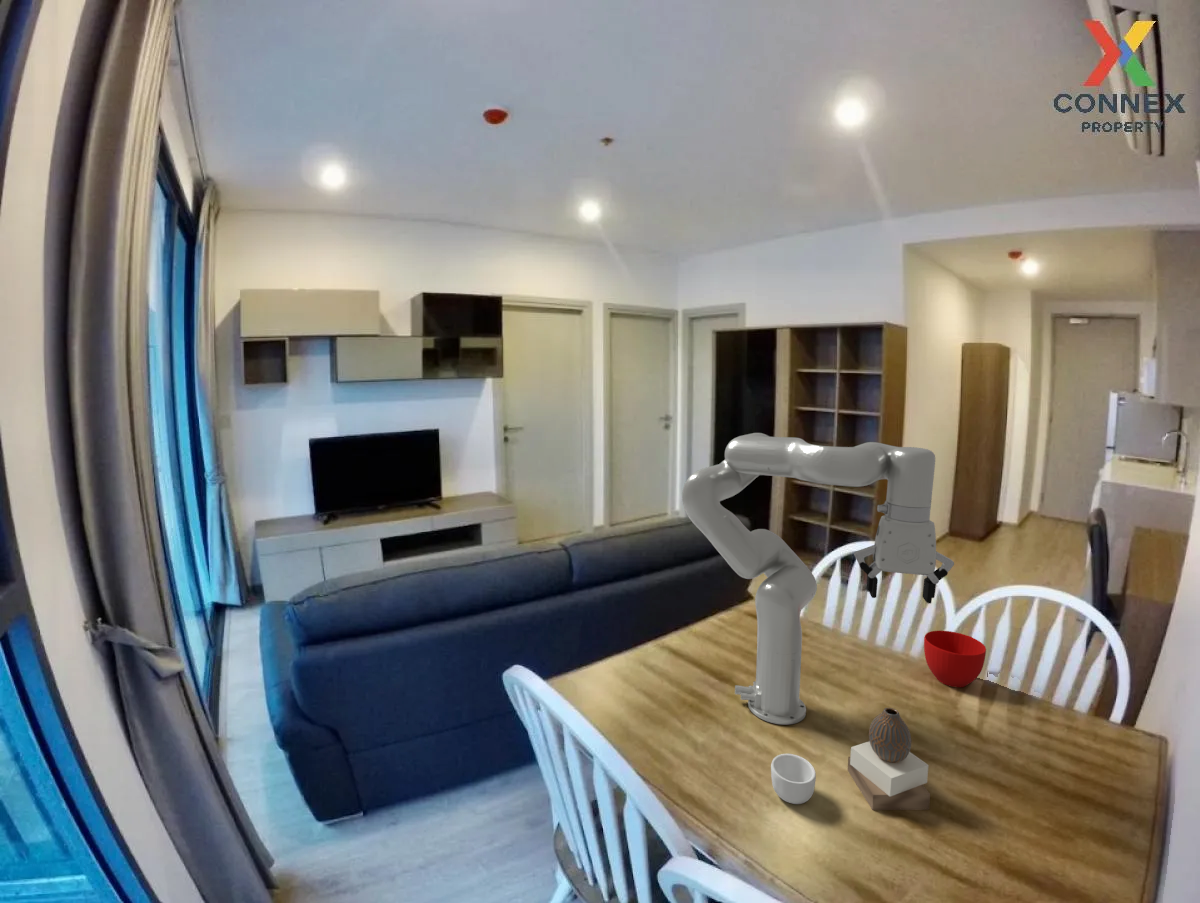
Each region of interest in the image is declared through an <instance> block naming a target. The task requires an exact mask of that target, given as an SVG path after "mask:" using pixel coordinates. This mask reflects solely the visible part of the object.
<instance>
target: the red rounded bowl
mask: <svg viewBox="0 0 1200 903" xmlns="http://www.w3.org/2000/svg"><path fill="white" fill-rule="evenodd" d="M923 650H924V651H923V652H924V657H925V661H926V664H927V665H926V666H928V669H929V670H930V672H931V673H932V674H933V676H935V678H936V680H937V681H938V682H940V683H941V684H943V685H945V686H949V687H953V688H964V687H967V685H969V684H971V683H972V682H974V681H975V680H976V679H977V678H978V677H979V676H980V674H981V672H982V670H983V668H984V665H985V661H986V660H985V659H986V654H987V648H986V646H985V644H983V642H981V641H980V640H979V639H976V638H974V637H972V636H971V635H967V634H965V633H964V634H963V633H960V632H956V631H950V630H932V631H928V632H926V633H925V635H924V639H923Z"/></svg>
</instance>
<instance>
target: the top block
mask: <svg viewBox="0 0 1200 903" xmlns="http://www.w3.org/2000/svg"><path fill="white" fill-rule="evenodd" d="M849 757H850V765H852V766H853V767H854V768H855V769H857V770H858V771H859V772H860V773H862V774H863V775H864V776H865V777H866V778H868V779H869V780H870V781H871V782H873V783H874V784H875V785H876V786H877V787H879V788H880V789H881V790H882V791H884V792H885V793H886V794H887V795H889V796H893V795H896V794H898V793H901V792H904V791H906V790H909V789H912V788H914V787H917V786H920V785H922V784H923V785H925V784H927V783H928V777H929V776H928V773H929V764H928V763H926V762H925V761H923V759H921V758H919V757H918V756H916V755H915V754H914V753H913V752H911V751H910V752H909V754H908V756H907V757H906V758H905V759H904V760H902V761H900V762H897V763H891V762H887V761H884V760H882V759H881V758H880V757H878V756H877V755H876V753H875V752H874V751H873V749H872V747H871V745H870V741H869V740H868V741H866V742H863V743H860V744H857V745H853V746H851V748H850V756H849Z"/></svg>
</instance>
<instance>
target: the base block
mask: <svg viewBox="0 0 1200 903" xmlns="http://www.w3.org/2000/svg"><path fill="white" fill-rule="evenodd" d="M850 757H851V756H848V760H847V773H849V775H850V776H851V779H852V780H853V782H854V783H855V784H856V786H857V788H858V790H859V791H860V792H861V794H862V796H863V798H864V799H865V801H866V803H867V804H868V805H869V807H870V808H871V810H872V811H894V810H895V811H898V810H899V811H900V810H901V811H903V810H904V811H906V810H908V811H909V810H910V811H911V810H914V811H915V810H916V811H917V810H922V811H923V810H930V801H931V794H930V791H928V789H927V788H926V787H925V786H924V784H922V785H920V786H917V787H914V788H912V789H909V790H906V791H904V792H901V793H898V794H896V795H893V796H889V795H887V794H886V793H885V792H884V791H882V790H881V789H880V788H879V787H877V786H876V785H875V784H874V783H873V782H871V781H870V780H869V779H868V778H866V777H865V776H864V775H863V774H862V773H860V772H859V771H858V770H857V769H855V768H854V767H853V766H852V765H850Z"/></svg>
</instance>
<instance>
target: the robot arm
mask: <svg viewBox="0 0 1200 903" xmlns="http://www.w3.org/2000/svg"><path fill="white" fill-rule="evenodd" d="M935 468H936V454H935V453H934V452H933V451H932V450H930V449H929V448H923V447H922V448H921V447H915V446H913V447H912V446H895V445H890V444H886V443H881V442H875V441H869V442H868V441H867V442H864V443H861V444H858V445H855V446H849V447H848V446H828V445H817V444H811V443H808V442H807V441H805V440H804V439H803V438H800V437H794V436H793V437H791V436H789V437H787V436H786V437H785V436H770V435H768V434H765V433H762V432H753V433H748V434H744V435H739V436H737V437H734V438H733V439H731V440H730V441H729V442H728V444H727V445H726V447H725V450H724V460H722V461H721V462H720V463H719V464H718V463H717V464H715V465H711V466H708V467H704V468H701V469H699V470H696V471H694V472H693V473H692V474H690V475H689V477H688V478H687V480H686V481H685V483H684V485H683V488H682V493H681V498H682V499H681V500H682V501H681V502H682V506H683V509H684V511H685V514H686V516H687V517H688V518H689V520H690V521H691V522H692V524H693V525H694V526H695V527H696V528H697V529H698V530H699V531H700V532H701V533H702V534H703V535H704V537H705V538H706V539H707V540H708V541H709V542H710V543H711V545H712V546H713V547H714V549H715V550H716V551H717V552H718V553H719V554H720V555H721V557H722V558H723V559H724V560H725V562H726V563H727V565H729V567H730V568H731V569H732V570H733V571H734V573H736V574H737V575H738V576H739V577H740V578H742V579H747V580H751V579H756V578H758V577H760V576H761V575H763V574H764V575H765V576H766V579H764V580H763V581H762V582H761V583H760V585H759V586H758V588H757V590H756V593H755V598H754V600H755V601H754V603H755V611H756V612H755V613H756V621H757V625H756V626H757V636H756V642H757V644H756V646H757V647H756V669H755V670H756V673H755V680H754V681H753V682H752V684H753V685H748V686H743V685H738V684H737V685H734V695H740V700H742V701H747V705H748V709H749V710H750V711H751V713H752V714H753V715H755V716H756V717H757V718H759V719H761V720H763V721H765V722H768V723H771V724H776V725H794V724H797V723H799V722H802V721H803V720H804V719H805V717H806V714H807V707H806V704H805V703H804V701H803V700H801V698H800V691H801V690H800V688H801V671H802V670H801V668H802V666H801V665H802V646H803V645H802V644H803V630H802V623H801V614H802V613H801V612H802V610H804V608H805V607H806V606H807V605H808V604H810V602H811V601H812V600H813V599H814V598H815V596H816V593H817V590H818V585H817V584H818V583H817V580H816V578H815V575H814V573H813V572H812V571H811V570H810V569H809V567H808V566H807V565H806V564H805V563H804V562H803V560H801V558H800V557H799V556H798V555H797V554H796V552H794V550H792V549H791V547H790V546H789V545H788V544H787V543H786V542H785V540H783V539H782V537H781V536H779V535H778V534H777V533H775V532H773V531H771V530H768V529H766V528H757V529H754V530H751V531H750V530H749V529H748V528H747V527H746V526H745V525H744V524H743V523H742V522H741V520H740V519H739V517H738V516H736V515H735V514H734V513H733V512H732V511H730V510H728V509H727V508H725V507H724V506H723V505H722V504H721V502H722V501H724V500H726V499H729V498H733V497H734V496H735V495H737V494H739V493H740V492H742V491H743V490H744V489H745V488H746V487H747V486H749V485H750V484H751V483H752V482H753V481H755V479H756V478H758V477H759V476H771V477H781V478H782V477H784V478H793V479H797V480H800V481H806V482H809V483H815V484H822V485H828V486H831V485H832V486H841V487H842V486H843V487H853V488H854V487H858V488H860V487H864V486H865V487H866V486H868V485H871V484H873V483H875V482H877V481H879V480H887V486H886V488H887V489H886V498H885V499H886V500H885V501H884V503H883V504H877V506H876V507H877V508H876V510H877V512H878V513H883V514H884V515H882V516H881V517H880V519H879V522H878V526H877V531H876V534H875V538H874V539H875V540H874V544H873V545H870V546H868V547H864V548H862V549H859V550H857V551H854V553H853V554H854V557H855V559H856V561H857V564H858V565H859V567H860V569H861V570H862V571H863V573H865V574H866V575H867V579H866V592H868V593H869V594H870V597H871V598H872V599H875V598H877V592H878V578H877V576H878V575H879V574H880V573H881V572H888V573H897V574H909V575H919V576H926V577H925V578H924V579H923V587H922V588H923V589H922V598H923V600H924V601H925V602H926V603H927V604H929V605H930V604H932V599H935V596H936V595H935V594H936V587H937V584H939V583H940V581H941V580H942V579H944V578H945V577H946V576H947V575H948V573H949V572H950V571H951V569H952V568H953V567H954V565H955V561H953V560H952V559H951V558H949V557H947V556H946V555H944V554H942V553H940V552H938V551H937V538H936V537H937V536H936V526H935V522H934V521H932V520H931V510H932V509H931V508H932V499H933V498H932V497H933V489H934V488H933V487H934V478H935ZM871 555H872V560H873V562H871V563H870V564H868V563H866V561H865V558H866V557H869V556H871ZM937 561H939V562H940V563H942V564H940V565H941V566H940V567H938V568H937V569H936V564H937V563H936V562H937ZM935 569H936V570H935Z"/></svg>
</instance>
